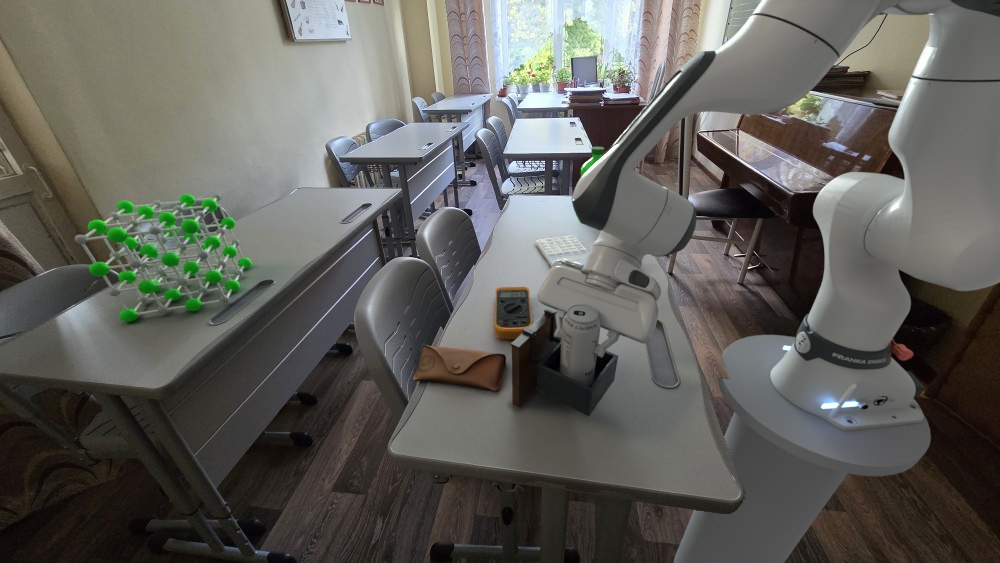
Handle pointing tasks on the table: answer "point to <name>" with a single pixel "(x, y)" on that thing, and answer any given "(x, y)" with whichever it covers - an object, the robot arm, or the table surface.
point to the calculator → (562, 249)
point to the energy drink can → (579, 343)
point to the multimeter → (512, 312)
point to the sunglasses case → (461, 367)
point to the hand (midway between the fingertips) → (577, 347)
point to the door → (521, 355)
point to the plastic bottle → (596, 153)
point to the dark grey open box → (566, 387)
